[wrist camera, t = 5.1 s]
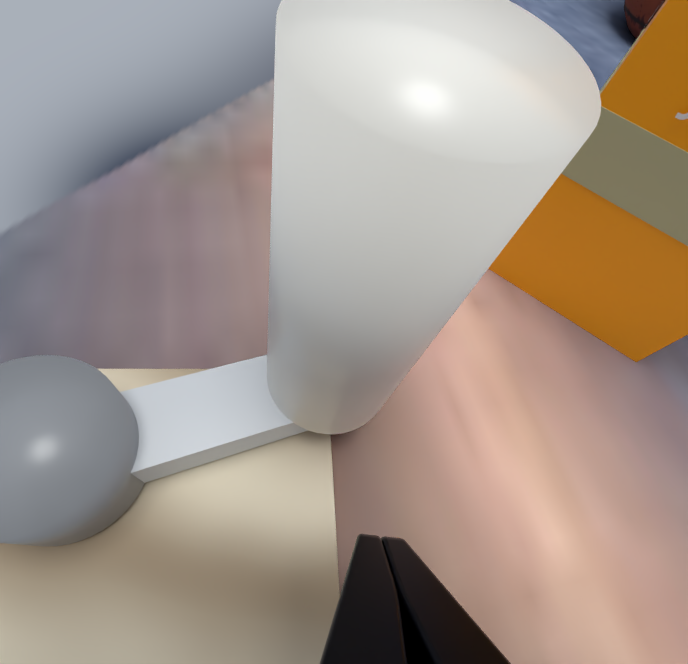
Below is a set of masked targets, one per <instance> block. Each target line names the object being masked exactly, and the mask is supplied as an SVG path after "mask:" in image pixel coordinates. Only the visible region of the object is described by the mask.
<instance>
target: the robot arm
mask: <svg viewBox="0 0 688 664" xmlns="http://www.w3.org/2000/svg"><path fill="white" fill-rule="evenodd" d="M319 664H511V663H510V662H509V661H508V660H507V659H506V658H505V656H504V655H503V654H502V653H501V652H500V651H499V649H498V648H497V647H496V646H495V645H494V644H493V642H492V641H491V640H490V639H489V638H488V637H487V635H486V634H485V633H484V632H483V631H482V630H481V628H480V627H479V626H478V625H477V624H476V623H475V621H474V620H473V619H472V618H471V617H470V616H469V614H468V613H467V612H466V611H465V610H464V609H463V608H462V606H461V605H460V604H459V603H458V602H457V601H456V599H455V598H454V597H453V596H452V595H451V594H450V592H449V591H448V590H447V589H446V588H445V587H444V585H443V584H442V583H441V582H440V581H439V580H438V578H437V577H436V576H435V575H434V574H433V573H432V571H431V570H430V569H429V568H428V567H427V566H426V564H425V563H424V562H423V561H422V560H421V559H420V557H419V556H418V555H417V554H416V553H415V552H414V550H413V549H412V548H411V547H410V546H409V545H408V543H407V542H406V541H405V540H403V539H401V538H394V537H382V538H380V537H379V536H376V535H366V534H360V535H358V537H357V540H356V543H355V547H354V550H353V553H352V557H351V560H350V563H349V567H348V570H347V573H346V577H345V580H344V583H343V587H342V590H341V593H340V597H339V600H338V603H337V607H336V610H335V613H334V617H333V620H332V623H331V627H330V630H329V633H328V637H327V640H326V643H325V647H324V650H323V653H322V657H321V660H320V663H319Z"/></svg>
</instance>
